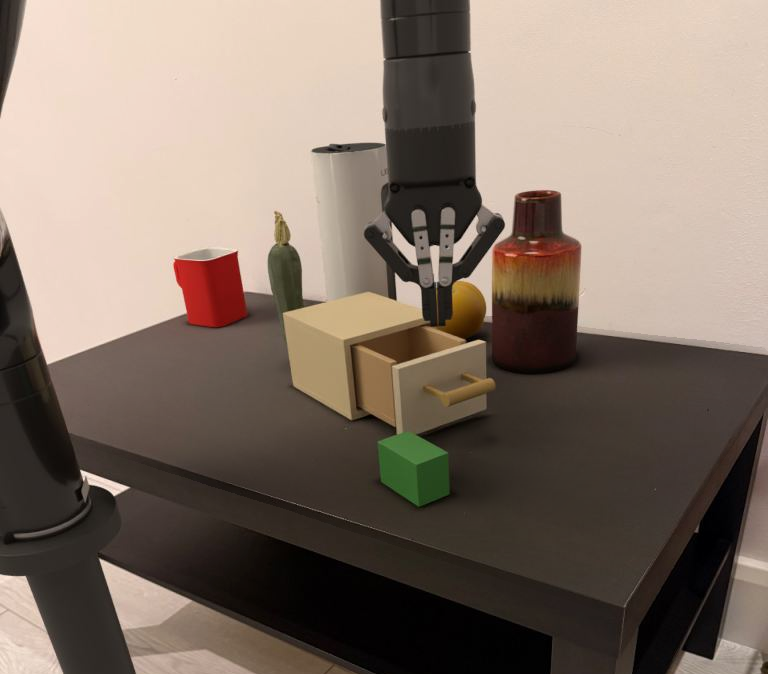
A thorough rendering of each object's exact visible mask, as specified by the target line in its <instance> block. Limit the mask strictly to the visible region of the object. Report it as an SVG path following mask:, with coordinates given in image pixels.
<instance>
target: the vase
mask: <svg viewBox="0 0 768 674" xmlns="http://www.w3.org/2000/svg"><path fill="white" fill-rule="evenodd" d="M562 208H563V207H562V192H560V191H557V190H550V189H540V190H538V189H537V190H528V191H522V192H518V193H516V194H515V195H514V199H513V208H512V209H513V212H512V222H511V223H512V224H511V232H510V234H509V235H508V236H506V237H504V238H502V239H500V240H499V241H497V242H496V243H494V244H493V245H492V249H491V358H492V359H491V360H492V363H493V364H494V365H495V366H496V367H497V368H500V369H502V370H505V371H508V372H513V373H519V374H544V373H552V372H557V371H560V370H563V369H566V368H568V367H570V366H571V365H573V364H574V363H575V361H576V357H577V340H578V339H577V338H578V324H579V323H578V321H579V306H580V305H579V303H580V284H581V268H582V267H581V266H582V248H583V247H582V243H581V242H580V241H579V239H577V238H576V237H574V236H572V235H569V234H567V233H565V232H564V230H563V209H562Z"/></svg>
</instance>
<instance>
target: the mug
mask: <svg viewBox="0 0 768 674" xmlns="http://www.w3.org/2000/svg"><path fill="white" fill-rule="evenodd" d="M173 260H174V261H173V264H172V266H173V267H172V268H173V272H174V276H175V281H176V283H177V285H178V286H179V288H180V289H181V291H182V297H183V301H184V306H185V310H186V316H187V320H188V323H189V325H193V326H194V325H195V326H200V327H206V328H207V327H208V328H222V327H226V326H228V325H231V324H232V323H235V322H237V321H240V320H242V319H244V318H246V317H248V310H247V304H246V298H245V291H244V287H243V280H242V273H241V269H240V263H239V249H238V248H230V247H215V246H207V247H200V248H197V249H193V250H191V251H188V252H184V253H181V254H178V255H175V256H174V257H173Z"/></svg>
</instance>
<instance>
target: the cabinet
mask: <svg viewBox="0 0 768 674" xmlns="http://www.w3.org/2000/svg"><path fill="white" fill-rule="evenodd" d="M283 318H284V325H285V332H286V339H287V345H286V347H287V346H288V348H287V353H288V359H289V366H290V373H291V380H292V387H293V388H296V389H297V390H299V391H301V392H302V393H304V394H306V395H307V396H309V397H310V398H312V399H314V400H316V401H317V402H319V403H320V404H322V405H324V406H326V407H328V408H329V409H331V410H332V411H335V412H337V413H338V414H340V415H342V416H343V417H345V418H346V419H349V420H350V421H355V420H357V419H360V418H363V417H367V416H370V415H372V414H371V413H369V412H367V411H365V410H363V409H362V408H360V407H358V406H356V399H355V389H354V379H353V369H352V360H351V350H350V345H352V344H356V343H359V342H363V341H367V340H370V339H374V338H377V337H381V336H384V335H388V334H391V333H395V332H398V331H402V330H405V329H409V328H413V327H416V326H420V325H426V326H428V327H430V321H425V320H424V318H423V316H422V308H419V307H416V306H413V305H410V304H407V303H405V302H401V301H398V300H397V301H395V300H392V299H389V298H386V297H383V296H381V295H378V294H375V293H372V292H365V293H361V294H357V295H353V296H349V297H345V298H341V299H337V300H333V301H329V302H327V301H325V302H321V303H318V304H313V305H309V306H304V308H301V309H297V310H293V311H289V312H285V313H283ZM431 328H434V329H437V327H431Z"/></svg>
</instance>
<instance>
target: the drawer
mask: <svg viewBox="0 0 768 674" xmlns="http://www.w3.org/2000/svg"><path fill="white" fill-rule="evenodd" d="M350 350H351V360H352V369H353V379H354V389H355V399H356V406H358V407H360V408H362V409H363V410H365V411H367V412H369V413H371V414H370V415H372V416H374V417H376V418H378V419H380V420H382V421H383V422H385V423H387V424H389V425H390V426H392V427H394V428H396V435H398V434H400V433H403V432H406V431H410V432H411V433H413V434H415V435H419V434H422V433H424V432H427V431H430V430H433V429H435V428H438V427H441V426H444V425H447V424H449V423H452V422H456V421H457V420H460V419H464V418H466V417H470V416H472V415H475V414H477V413H480V412H482V411H485V410H487V409H488V408H487V394H489V393H492V392H494V391H495V390H496V382H495V380H494V379H493V378H492V377H488V378H487V341H484V340H481V339H476V340H472V341H470V342H467V340H466V339H462V338H459V337H456V336H453V335H451V334H448V333H445V332H442V331H439V330H437V329H434V328H431V327H428V326H426V325H420V326H416V327H413V328H409V329H405V330H402V331H398V332H395V333H391V334H388V335H384V336H381V337H377V338H374V339H370V340H367V341H363V342H359V343H356V344H352V345H350Z"/></svg>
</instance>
